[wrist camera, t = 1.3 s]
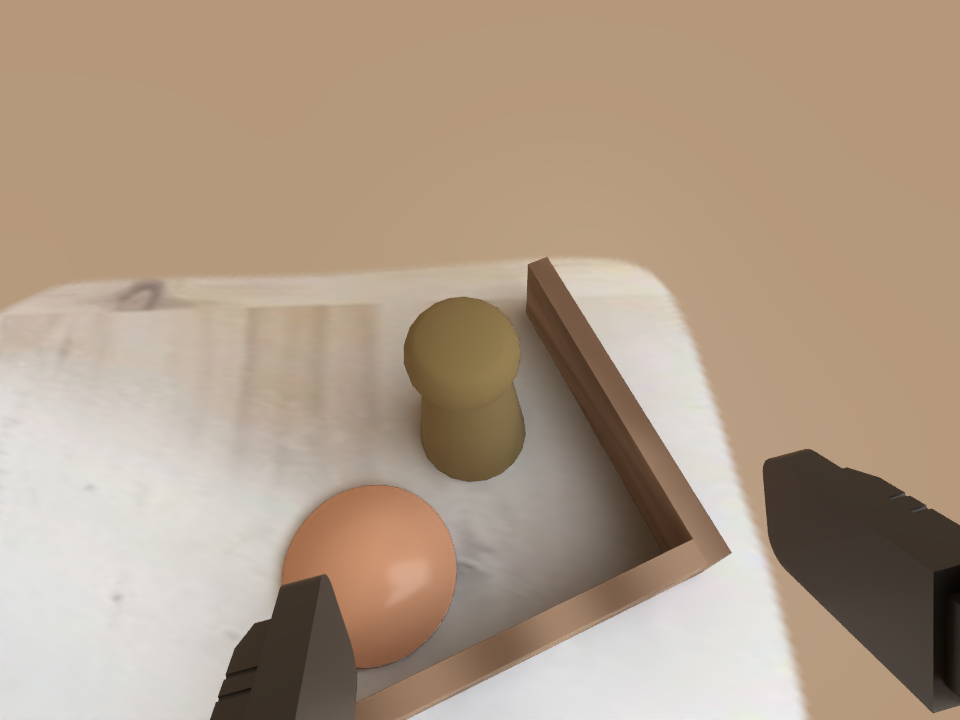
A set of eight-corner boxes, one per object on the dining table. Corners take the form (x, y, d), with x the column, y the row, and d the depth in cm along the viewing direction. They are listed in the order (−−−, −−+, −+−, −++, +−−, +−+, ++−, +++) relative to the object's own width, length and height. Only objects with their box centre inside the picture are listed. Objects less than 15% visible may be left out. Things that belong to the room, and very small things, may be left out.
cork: (454, 502, 34) (432, 425, 24) (402, 416, 37) (363, 315, 27) (546, 446, 35) (559, 352, 26) (489, 367, 38) (482, 254, 28)
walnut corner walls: (296, 773, 28) (257, 787, 24) (213, 437, 37) (172, 402, 32) (701, 572, 32) (731, 552, 27) (543, 305, 40) (547, 256, 35)
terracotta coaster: (312, 701, 30) (309, 701, 29) (266, 528, 34) (262, 526, 33) (484, 618, 31) (484, 617, 31) (419, 462, 35) (418, 459, 35)
